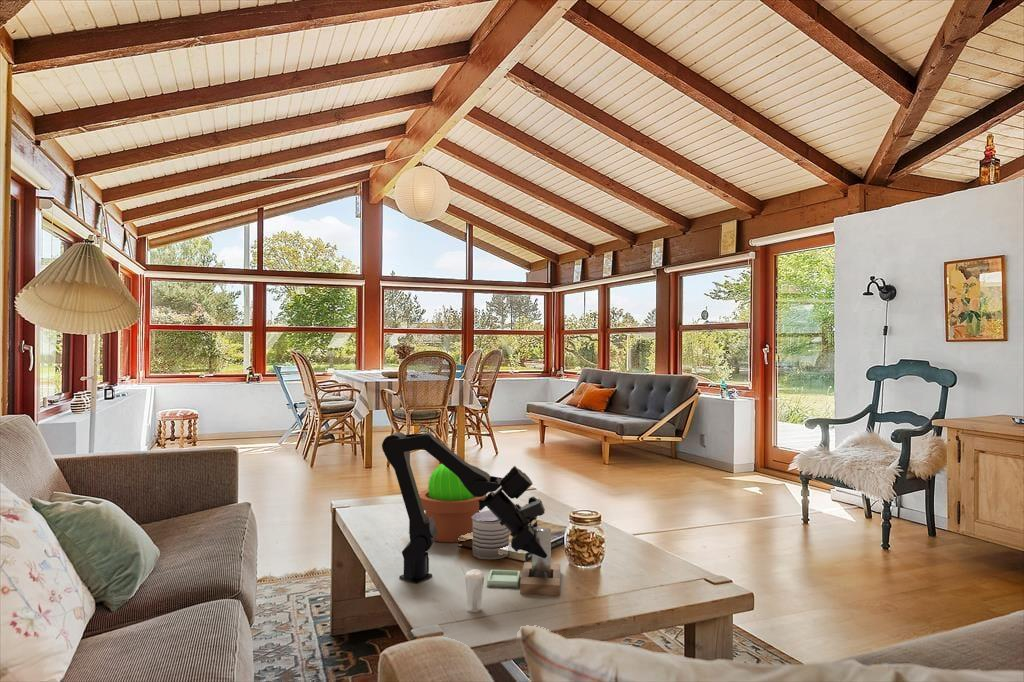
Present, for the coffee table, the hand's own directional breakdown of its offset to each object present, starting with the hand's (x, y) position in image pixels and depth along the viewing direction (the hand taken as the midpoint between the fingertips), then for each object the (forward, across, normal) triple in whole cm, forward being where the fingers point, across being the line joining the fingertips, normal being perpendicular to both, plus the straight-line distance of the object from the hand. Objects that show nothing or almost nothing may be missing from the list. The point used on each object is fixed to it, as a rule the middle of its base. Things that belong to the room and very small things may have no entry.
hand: (546, 553), depth 167 cm
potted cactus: (-17, +39, +28) cm, 51 cm away
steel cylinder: (+4, 0, +6) cm, 8 cm away
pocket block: (+4, 0, +6) cm, 8 cm away
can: (-7, +22, +18) cm, 29 cm away
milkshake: (-6, -19, +18) cm, 26 cm away
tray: (-2, 0, +13) cm, 14 cm away
